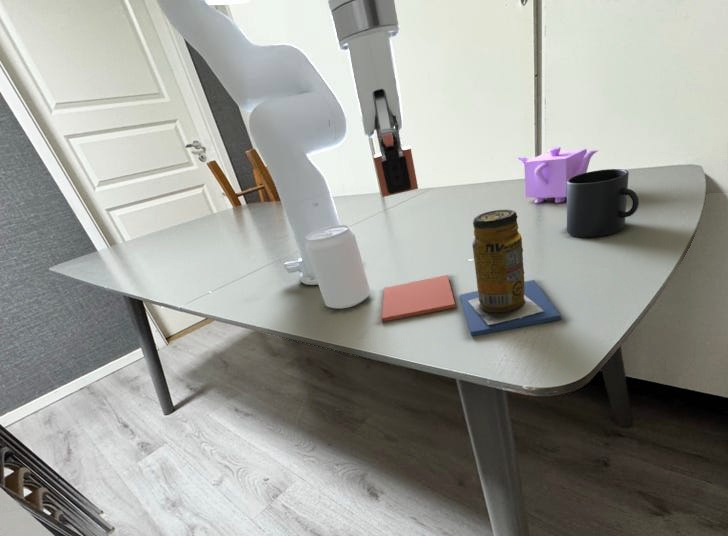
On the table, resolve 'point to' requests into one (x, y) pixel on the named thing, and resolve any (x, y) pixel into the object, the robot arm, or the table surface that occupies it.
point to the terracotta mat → (417, 298)
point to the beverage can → (338, 266)
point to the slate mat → (535, 295)
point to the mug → (598, 202)
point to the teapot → (553, 172)
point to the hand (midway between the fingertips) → (399, 186)
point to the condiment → (499, 268)
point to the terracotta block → (411, 170)
